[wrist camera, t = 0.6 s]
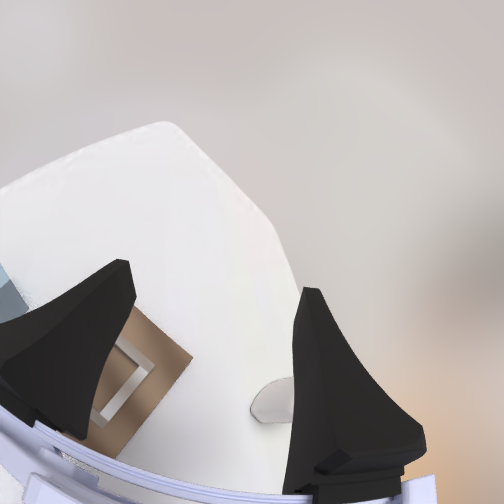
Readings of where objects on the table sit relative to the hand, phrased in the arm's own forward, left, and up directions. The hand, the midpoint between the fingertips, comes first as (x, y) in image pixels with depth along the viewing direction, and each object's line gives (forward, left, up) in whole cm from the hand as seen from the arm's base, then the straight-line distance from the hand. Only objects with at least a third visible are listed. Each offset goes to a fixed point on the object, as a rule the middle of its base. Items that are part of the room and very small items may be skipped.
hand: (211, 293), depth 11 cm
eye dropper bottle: (+5, -13, -18) cm, 23 cm away
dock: (-4, +3, -18) cm, 19 cm away
